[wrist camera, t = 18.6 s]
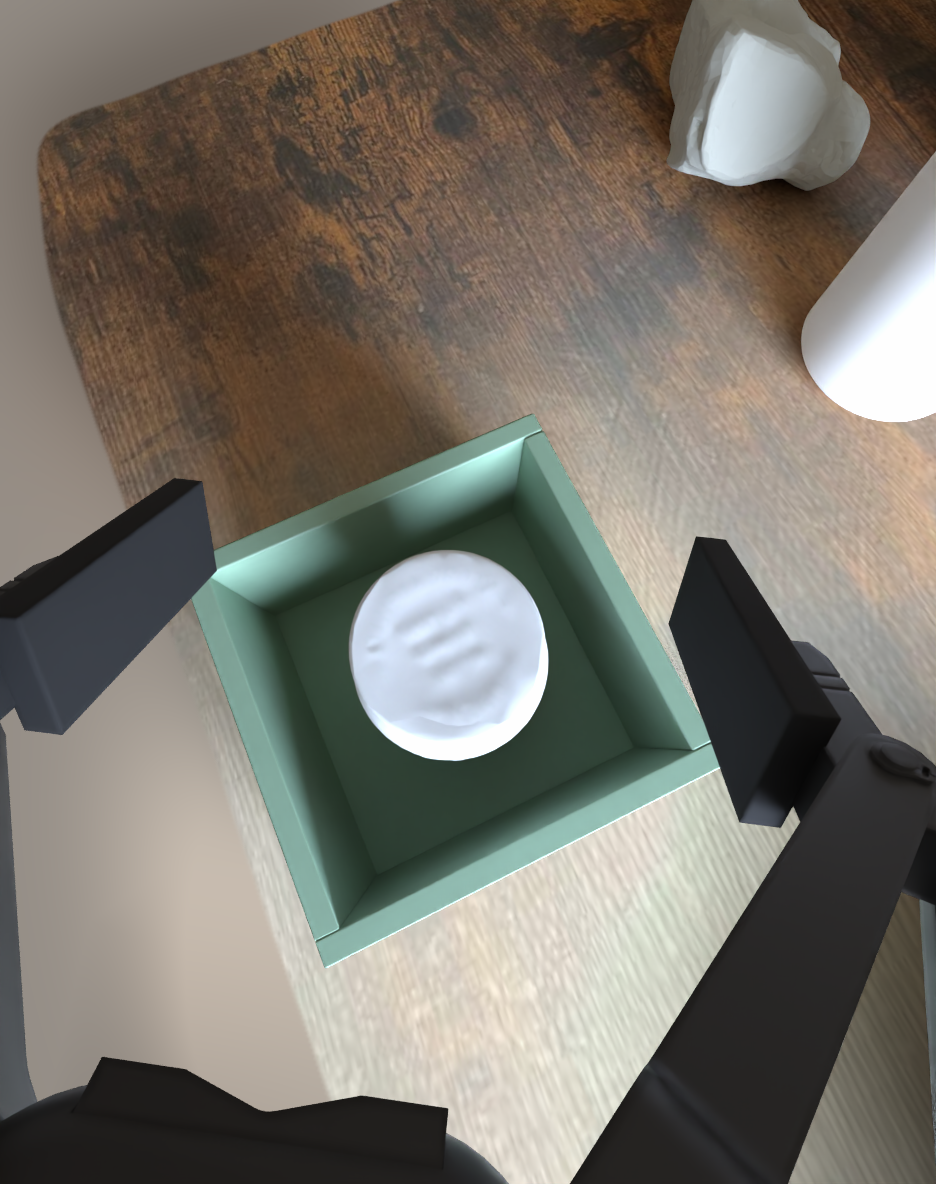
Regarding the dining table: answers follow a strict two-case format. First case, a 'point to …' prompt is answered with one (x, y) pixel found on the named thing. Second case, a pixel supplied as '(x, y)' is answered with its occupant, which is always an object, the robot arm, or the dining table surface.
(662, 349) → the dining table surface
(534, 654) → the pill bottle
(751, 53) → the decorative stone
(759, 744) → the robot arm
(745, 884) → the dining table surface
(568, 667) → the bin
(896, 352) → the beverage can
